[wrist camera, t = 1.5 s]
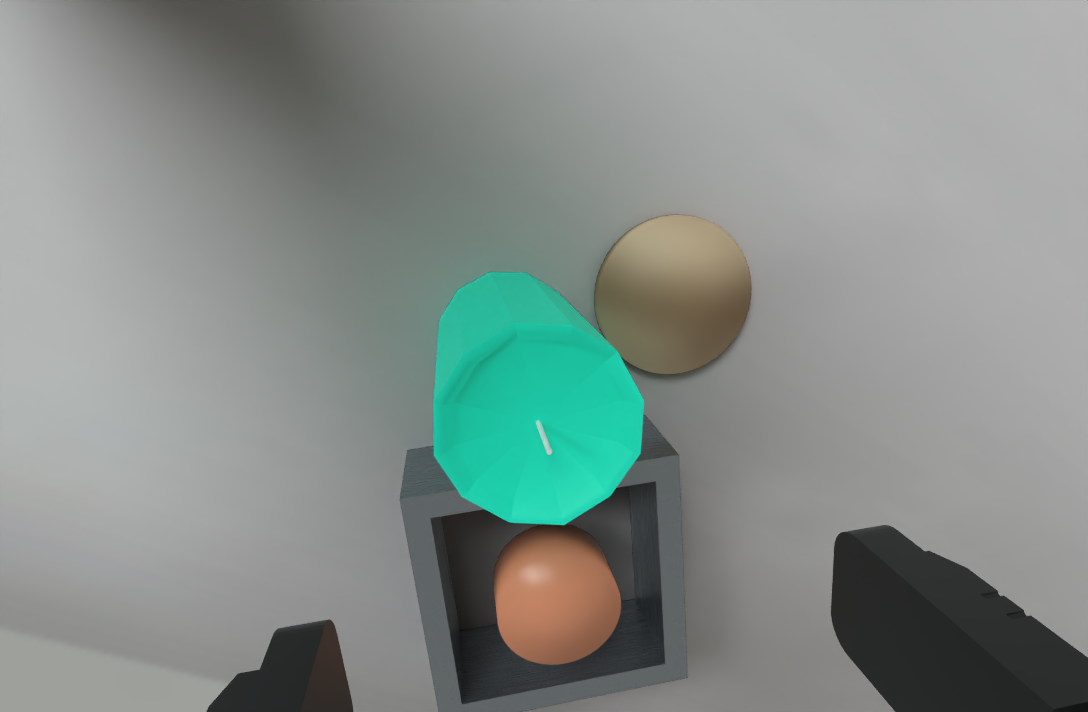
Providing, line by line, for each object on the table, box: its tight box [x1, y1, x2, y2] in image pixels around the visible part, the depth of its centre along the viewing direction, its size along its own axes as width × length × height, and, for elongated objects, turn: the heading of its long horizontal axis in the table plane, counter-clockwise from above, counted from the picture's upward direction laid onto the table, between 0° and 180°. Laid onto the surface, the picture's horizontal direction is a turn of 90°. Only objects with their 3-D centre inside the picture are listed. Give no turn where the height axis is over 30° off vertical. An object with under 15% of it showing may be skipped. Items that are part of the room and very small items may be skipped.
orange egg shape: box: [493, 524, 621, 665], centre depth 26 cm, size 5×5×2 cm
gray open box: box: [400, 415, 688, 712], centre depth 28 cm, size 11×11×4 cm
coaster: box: [594, 215, 751, 374], centre depth 27 cm, size 7×7×1 cm
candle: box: [433, 272, 644, 525], centre depth 21 cm, size 6×6×12 cm
